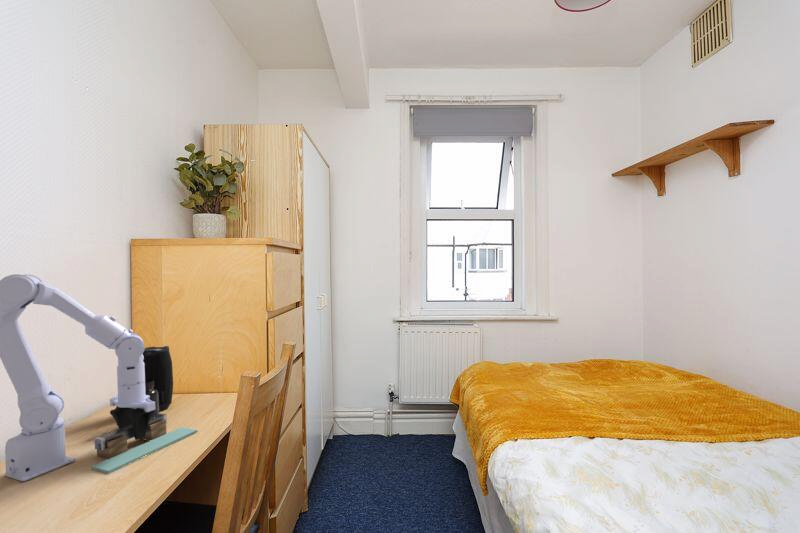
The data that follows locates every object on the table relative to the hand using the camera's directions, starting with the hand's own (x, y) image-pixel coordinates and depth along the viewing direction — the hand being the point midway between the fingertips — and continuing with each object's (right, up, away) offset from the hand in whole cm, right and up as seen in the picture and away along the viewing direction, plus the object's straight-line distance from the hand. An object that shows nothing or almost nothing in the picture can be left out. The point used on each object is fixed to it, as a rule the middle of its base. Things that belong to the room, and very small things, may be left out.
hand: (133, 436), depth 97 cm
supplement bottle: (-7, -3, +15) cm, 16 cm away
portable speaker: (-11, -3, +26) cm, 28 cm away
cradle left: (-2, -2, -5) cm, 5 cm away
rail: (0, 0, 0) cm, 0 cm away
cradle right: (+2, -2, +5) cm, 5 cm away
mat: (+6, -2, -2) cm, 6 cm away
